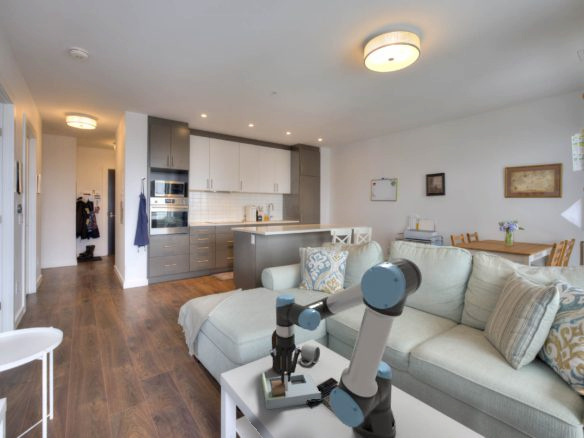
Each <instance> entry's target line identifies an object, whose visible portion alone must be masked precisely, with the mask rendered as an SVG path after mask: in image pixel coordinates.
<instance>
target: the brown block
mask: <svg viewBox="0 0 584 438" xmlns="http://www.w3.org/2000/svg"><path fill="white" fill-rule="evenodd" d="M271 392H272V397H273V398H274V397H281V396H284V397H285V385H284V383H282V382H281V380H278V381H271Z"/></svg>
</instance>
